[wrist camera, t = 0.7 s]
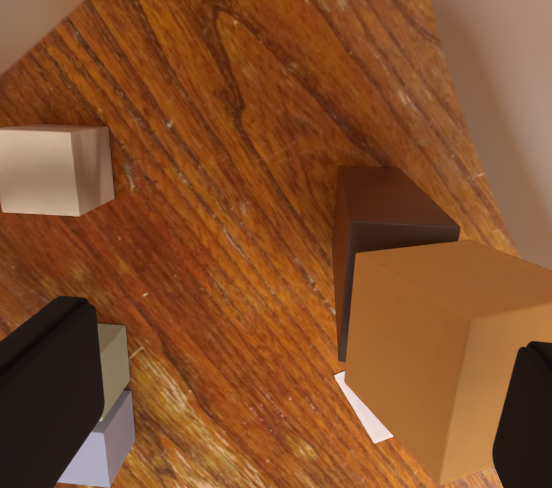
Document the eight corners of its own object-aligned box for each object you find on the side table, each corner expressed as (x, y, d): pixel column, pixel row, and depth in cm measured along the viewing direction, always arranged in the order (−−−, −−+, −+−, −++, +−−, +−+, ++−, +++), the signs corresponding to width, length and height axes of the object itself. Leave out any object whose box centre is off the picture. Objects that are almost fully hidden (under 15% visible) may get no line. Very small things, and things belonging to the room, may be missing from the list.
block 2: (73, 385, 38) (37, 426, 33) (131, 390, 37) (103, 433, 33) (79, 434, 39) (46, 481, 35) (135, 440, 39) (109, 487, 34)
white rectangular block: (333, 375, 35) (334, 396, 33) (431, 334, 33) (440, 352, 31) (374, 443, 37) (377, 468, 34) (470, 407, 35) (481, 431, 32)
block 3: (64, 320, 36) (25, 354, 31) (126, 324, 35) (95, 360, 31) (71, 375, 37) (35, 415, 33) (130, 380, 37) (102, 421, 32)
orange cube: (354, 252, 15) (469, 319, 11) (470, 238, 17) (609, 291, 12) (343, 382, 17) (439, 488, 12) (450, 356, 18) (566, 440, 14)
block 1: (38, 123, 31) (-13, 129, 26) (109, 126, 31) (69, 131, 26) (48, 195, 33) (1, 212, 28) (115, 198, 32) (79, 216, 28)
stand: (337, 165, 30) (349, 220, 17) (399, 168, 30) (461, 226, 16) (332, 251, 32) (338, 362, 19) (390, 254, 32) (438, 369, 18)
